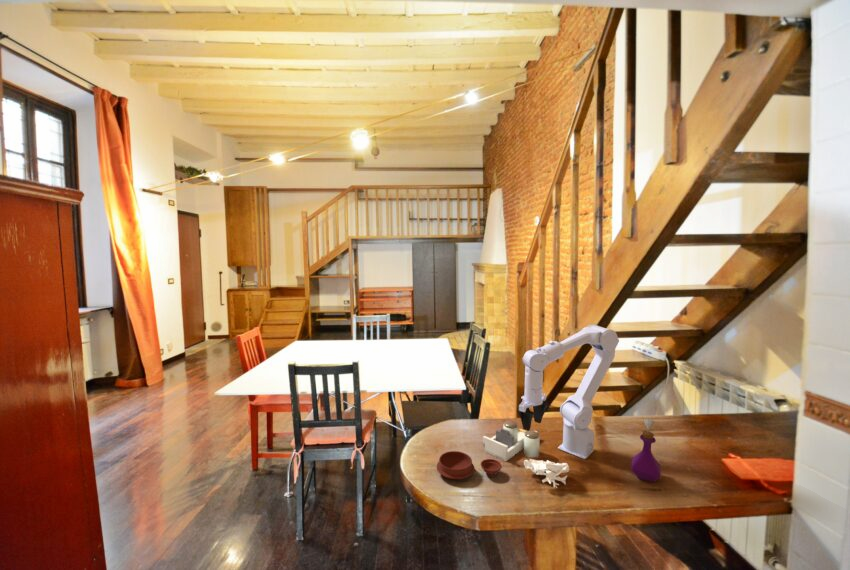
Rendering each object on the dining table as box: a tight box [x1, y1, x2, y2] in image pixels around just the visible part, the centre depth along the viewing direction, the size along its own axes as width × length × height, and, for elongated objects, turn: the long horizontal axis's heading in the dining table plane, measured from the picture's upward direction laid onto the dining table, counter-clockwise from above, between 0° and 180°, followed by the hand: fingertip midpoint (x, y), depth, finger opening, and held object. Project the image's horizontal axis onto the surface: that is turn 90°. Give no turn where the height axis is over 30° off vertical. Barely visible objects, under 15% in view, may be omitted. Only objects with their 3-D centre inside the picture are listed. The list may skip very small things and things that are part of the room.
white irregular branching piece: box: [523, 458, 570, 489], centre depth 110 cm, size 12×7×12 cm
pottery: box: [436, 450, 503, 480], centre depth 113 cm, size 12×20×4 cm, turn 88°
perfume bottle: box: [631, 418, 662, 483], centre depth 111 cm, size 8×8×18 cm
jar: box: [523, 429, 541, 459], centre depth 124 cm, size 5×5×7 cm
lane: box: [482, 423, 538, 462], centre depth 130 cm, size 9×21×5 cm, turn 135°
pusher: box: [495, 427, 514, 449], centre depth 127 cm, size 7×1×6 cm, turn 45°
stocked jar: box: [502, 420, 519, 445], centre depth 129 cm, size 5×5×7 cm
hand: (532, 425), depth 123 cm, fingers open, 7 cm apart
